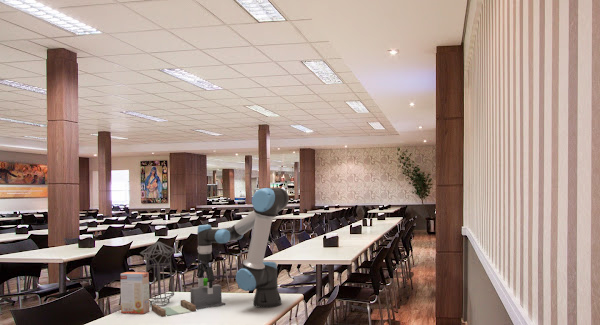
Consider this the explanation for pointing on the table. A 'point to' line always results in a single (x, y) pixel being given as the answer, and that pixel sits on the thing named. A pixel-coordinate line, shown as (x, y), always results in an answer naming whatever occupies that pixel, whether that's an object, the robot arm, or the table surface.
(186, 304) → the bay walls
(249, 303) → the table surface
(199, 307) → the angle bracket
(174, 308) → the pad
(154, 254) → the geometric lantern
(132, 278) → the cracker box
